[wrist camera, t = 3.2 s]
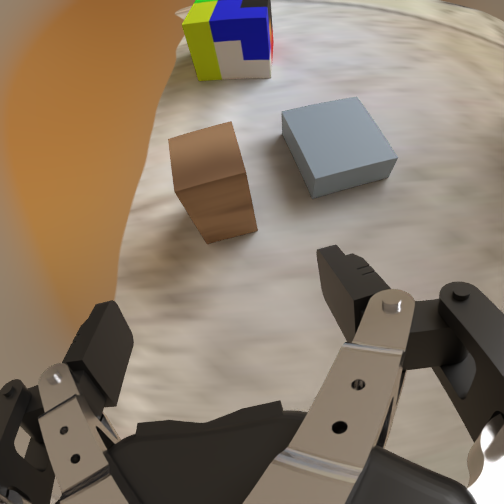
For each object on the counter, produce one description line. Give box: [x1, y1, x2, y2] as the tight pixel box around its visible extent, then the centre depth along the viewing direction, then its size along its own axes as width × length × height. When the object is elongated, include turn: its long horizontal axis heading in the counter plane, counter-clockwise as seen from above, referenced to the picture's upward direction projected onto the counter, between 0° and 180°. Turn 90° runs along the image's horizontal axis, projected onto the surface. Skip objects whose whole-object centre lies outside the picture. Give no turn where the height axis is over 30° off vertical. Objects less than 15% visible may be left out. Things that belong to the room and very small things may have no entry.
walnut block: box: [168, 122, 258, 244], centre depth 26 cm, size 5×5×10 cm
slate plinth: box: [282, 97, 398, 199], centre depth 31 cm, size 9×9×4 cm
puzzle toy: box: [182, 0, 273, 81], centre depth 35 cm, size 10×10×10 cm
